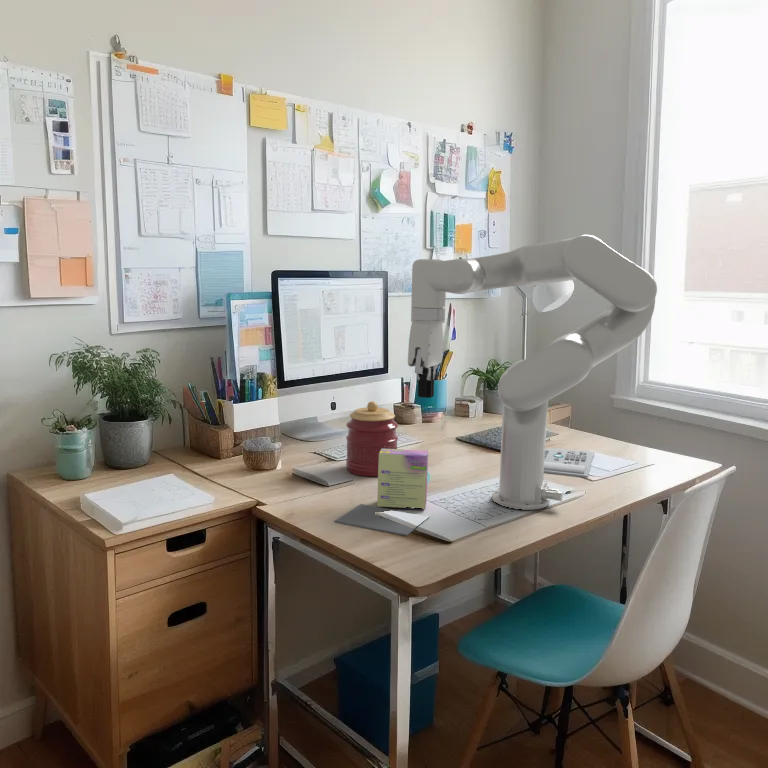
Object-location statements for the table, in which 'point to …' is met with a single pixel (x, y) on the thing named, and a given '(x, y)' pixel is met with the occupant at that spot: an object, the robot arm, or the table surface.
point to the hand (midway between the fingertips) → (425, 396)
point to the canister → (369, 438)
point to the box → (402, 478)
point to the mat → (372, 520)
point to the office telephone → (568, 462)
